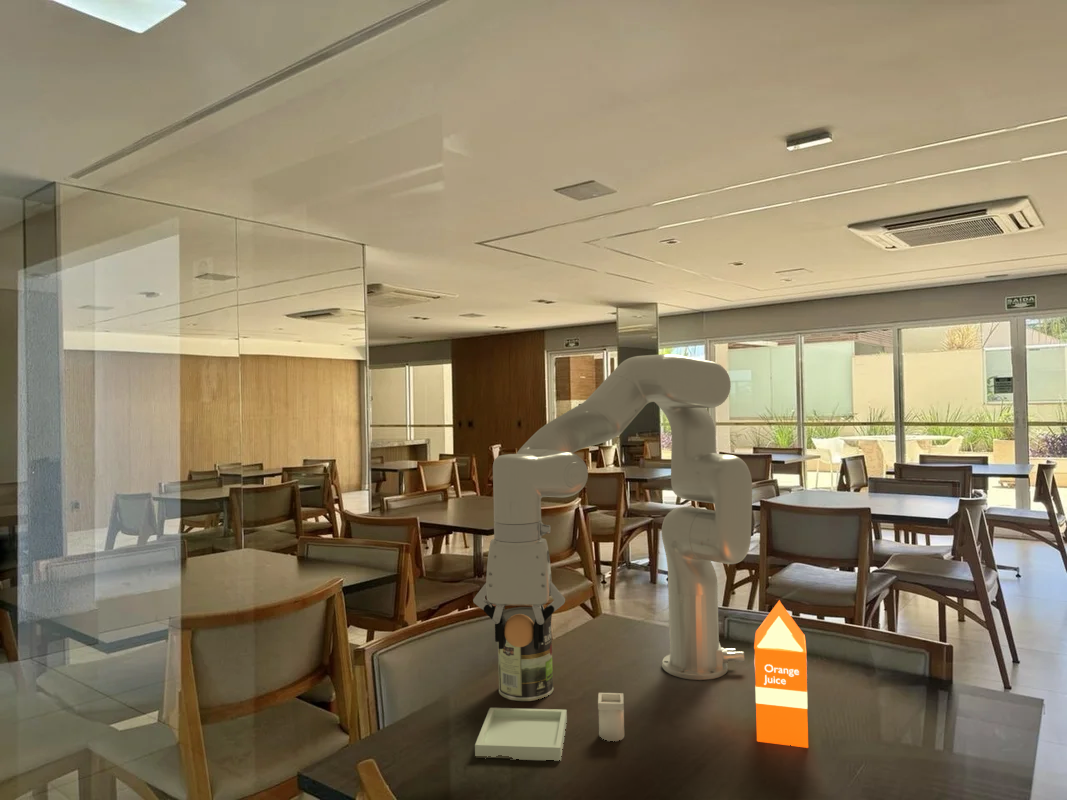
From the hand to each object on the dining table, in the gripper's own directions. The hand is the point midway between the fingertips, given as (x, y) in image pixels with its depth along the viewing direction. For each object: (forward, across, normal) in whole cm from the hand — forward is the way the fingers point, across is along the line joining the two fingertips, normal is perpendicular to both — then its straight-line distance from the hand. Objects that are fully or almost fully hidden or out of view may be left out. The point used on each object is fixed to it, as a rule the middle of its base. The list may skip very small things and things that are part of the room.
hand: (519, 645), depth 115 cm
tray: (+15, 0, 0) cm, 15 cm away
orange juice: (+15, -41, -5) cm, 44 cm away
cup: (+15, -14, -2) cm, 21 cm away
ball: (-2, 0, 0) cm, 2 cm away
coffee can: (+15, +2, -19) cm, 24 cm away
